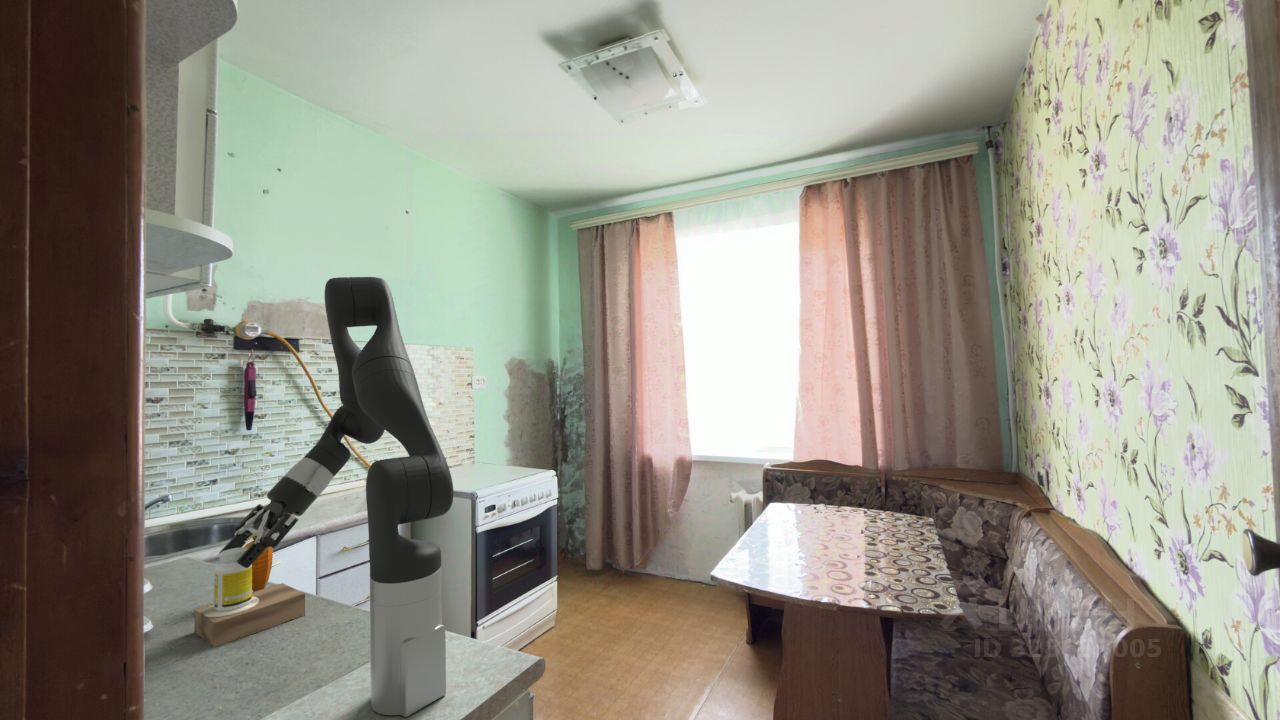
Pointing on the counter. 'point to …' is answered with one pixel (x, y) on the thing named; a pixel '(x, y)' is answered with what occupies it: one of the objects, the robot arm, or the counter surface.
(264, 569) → the carrot
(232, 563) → the supplement bottle
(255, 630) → the walnut board
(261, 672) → the counter surface
